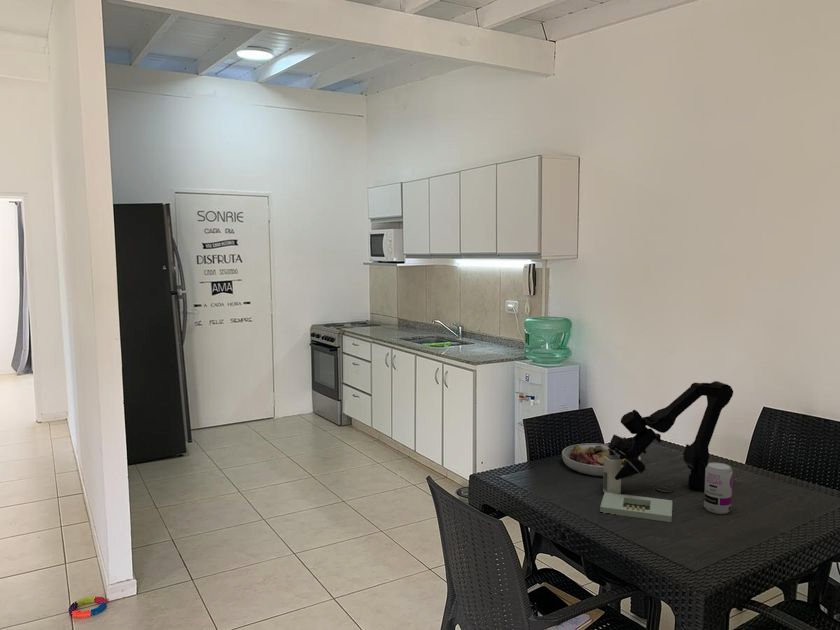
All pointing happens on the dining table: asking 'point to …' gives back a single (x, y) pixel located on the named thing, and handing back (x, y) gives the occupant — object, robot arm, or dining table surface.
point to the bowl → (587, 458)
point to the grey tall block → (611, 474)
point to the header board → (657, 511)
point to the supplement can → (718, 488)
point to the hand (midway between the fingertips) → (609, 474)
